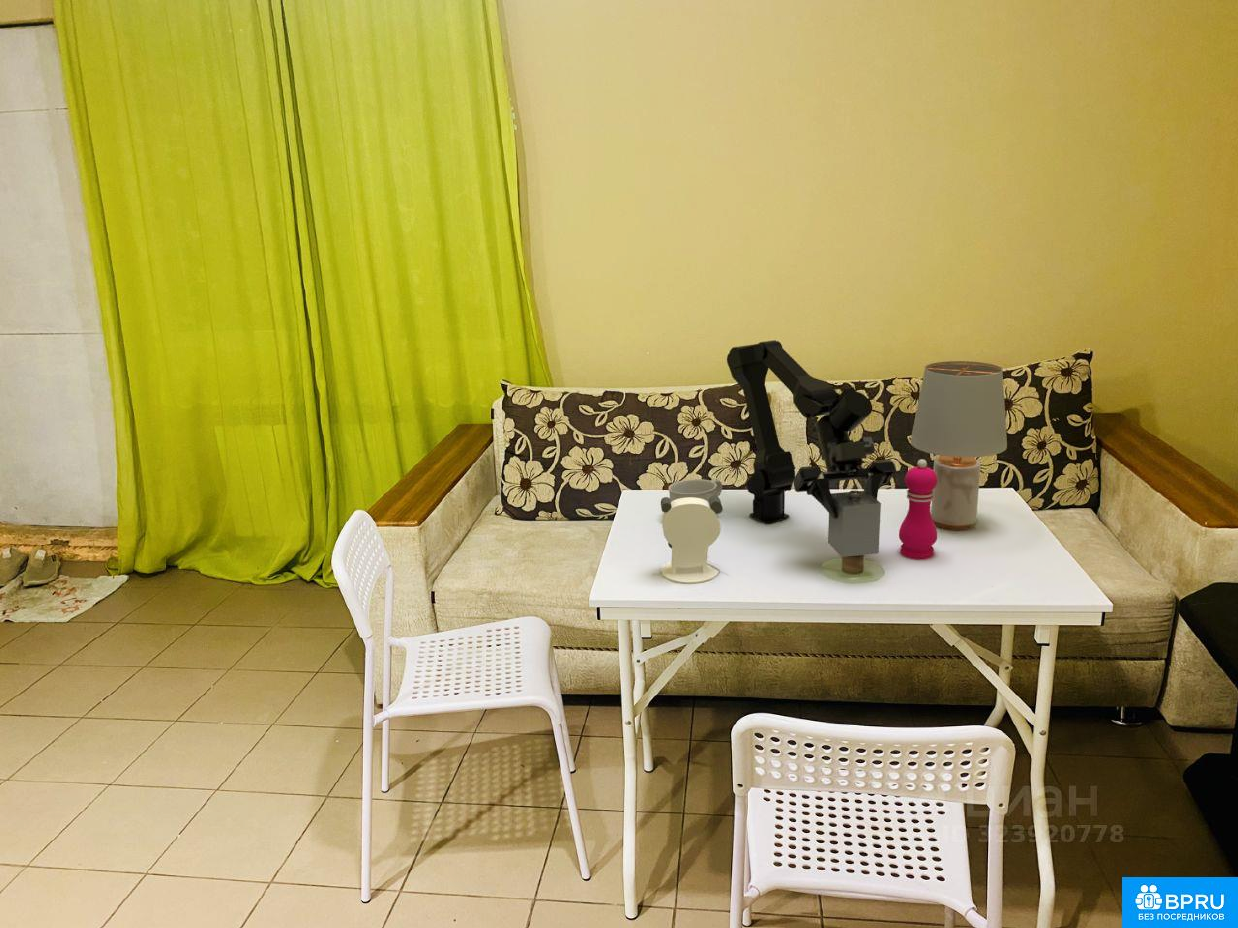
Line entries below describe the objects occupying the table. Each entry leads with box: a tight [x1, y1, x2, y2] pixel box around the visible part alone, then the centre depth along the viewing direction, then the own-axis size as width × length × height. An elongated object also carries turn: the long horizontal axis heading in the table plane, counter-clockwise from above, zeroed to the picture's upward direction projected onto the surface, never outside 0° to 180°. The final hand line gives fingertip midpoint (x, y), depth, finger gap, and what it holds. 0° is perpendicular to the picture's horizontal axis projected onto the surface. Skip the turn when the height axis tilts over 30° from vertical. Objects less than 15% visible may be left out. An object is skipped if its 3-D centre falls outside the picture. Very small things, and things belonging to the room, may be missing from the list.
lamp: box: [910, 360, 1008, 531], centre depth 194 cm, size 19×19×34 cm
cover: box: [827, 490, 882, 558], centre depth 174 cm, size 7×7×11 cm
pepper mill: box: [898, 459, 938, 560], centre depth 181 cm, size 7×7×20 cm
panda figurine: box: [660, 495, 723, 585], centre depth 179 cm, size 12×11×15 cm
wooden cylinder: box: [841, 555, 865, 574], centre depth 177 cm, size 4×4×4 cm
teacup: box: [668, 478, 723, 502], centre depth 209 cm, size 14×11×8 cm
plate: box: [819, 557, 886, 585], centre depth 178 cm, size 12×12×1 cm
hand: (854, 516), depth 174 cm, fingers closed on cover, 7 cm apart
